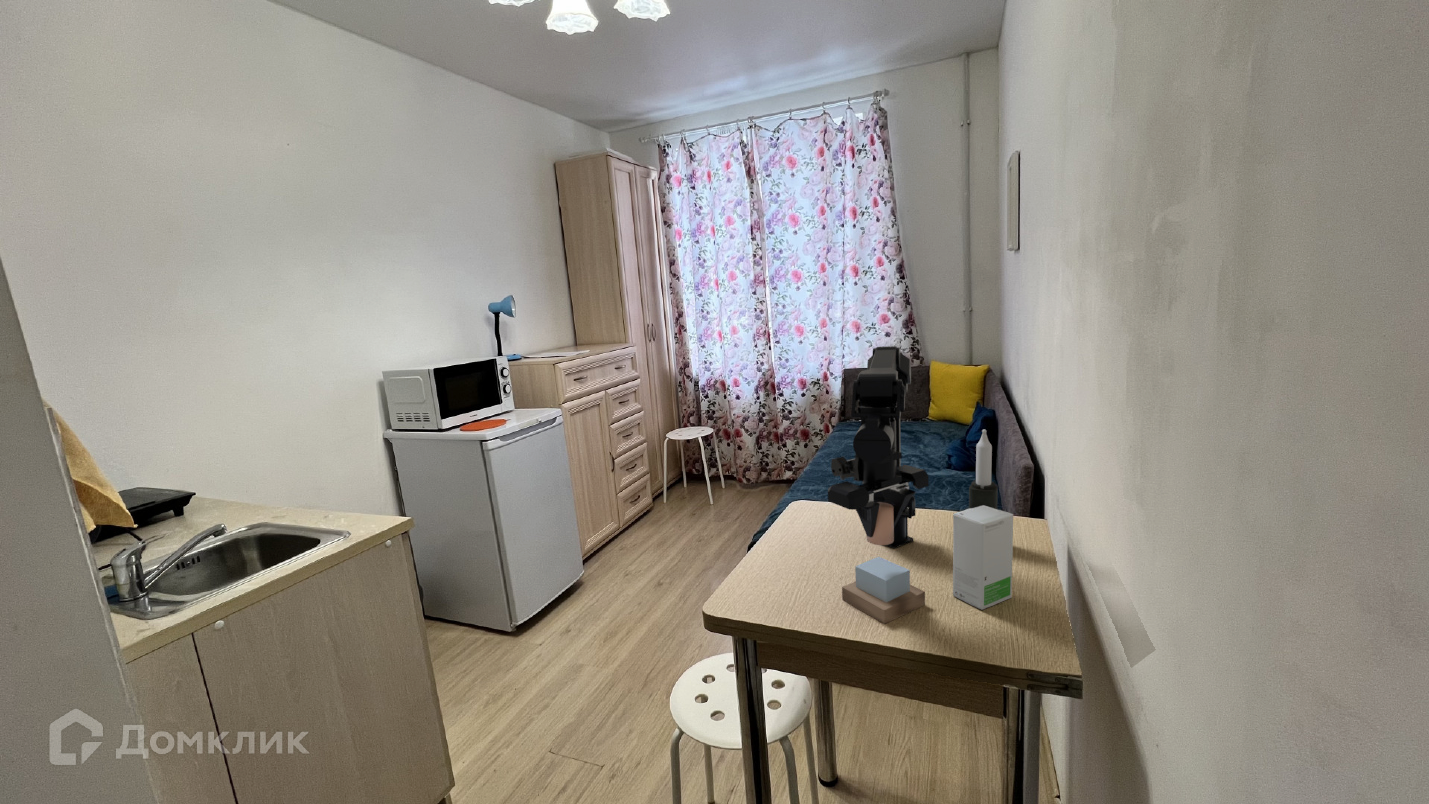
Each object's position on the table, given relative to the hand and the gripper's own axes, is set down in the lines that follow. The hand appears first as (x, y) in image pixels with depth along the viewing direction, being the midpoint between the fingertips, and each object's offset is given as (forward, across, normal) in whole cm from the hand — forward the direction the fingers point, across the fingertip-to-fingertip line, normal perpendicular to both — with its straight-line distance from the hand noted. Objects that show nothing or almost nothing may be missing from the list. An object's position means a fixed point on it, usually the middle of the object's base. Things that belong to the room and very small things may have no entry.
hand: (880, 532), depth 102 cm
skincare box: (+13, -15, +9) cm, 22 cm away
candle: (+13, -34, -4) cm, 37 cm away
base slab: (+13, 0, 0) cm, 13 cm away
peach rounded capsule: (+1, 0, 0) cm, 1 cm away
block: (+11, 0, 0) cm, 11 cm away
